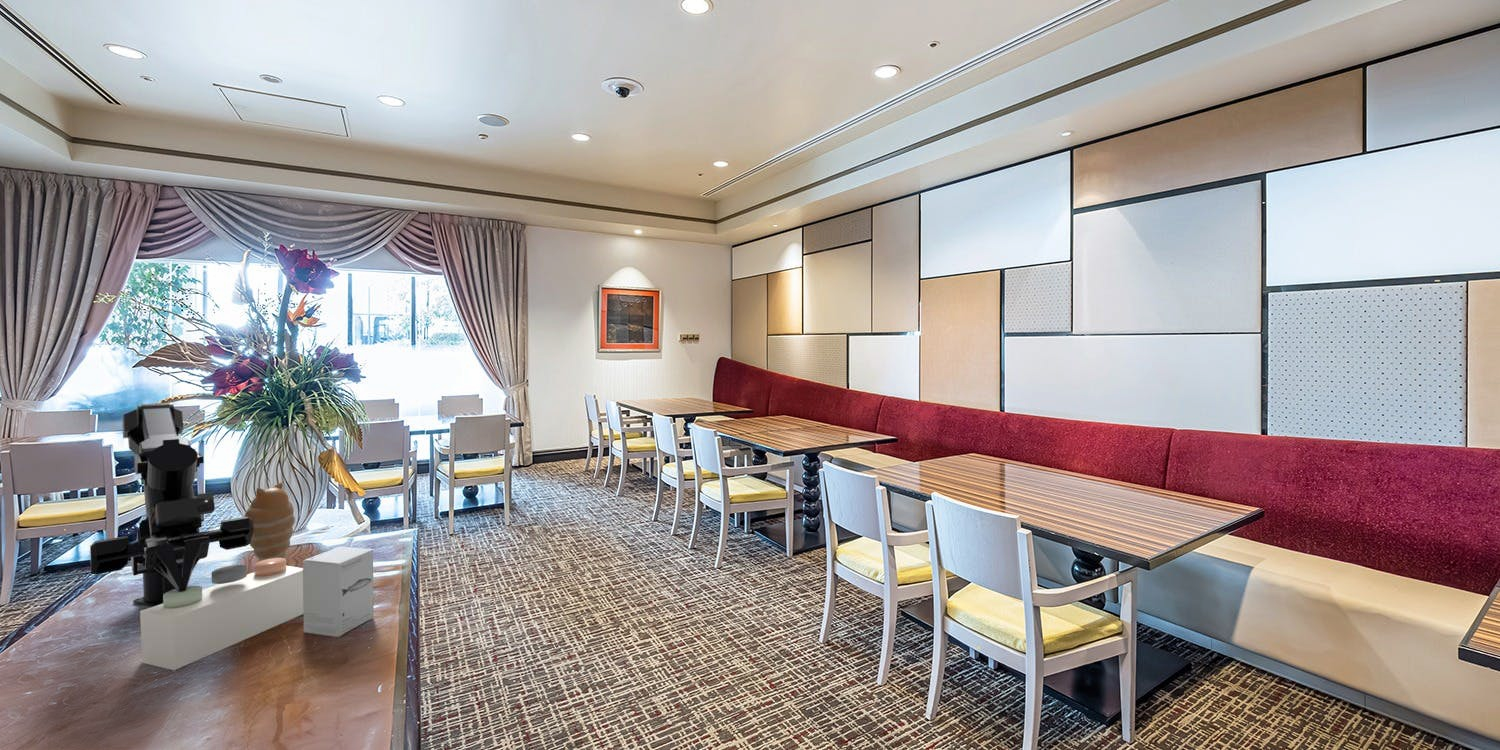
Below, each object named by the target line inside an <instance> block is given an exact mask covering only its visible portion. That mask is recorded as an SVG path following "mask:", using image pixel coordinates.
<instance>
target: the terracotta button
mask: <svg viewBox="0 0 1500 750" xmlns="http://www.w3.org/2000/svg"><path fill="white" fill-rule="evenodd" d="M253 565H254V568H253V570H254V572H255V575H271V574H275V573H279V572H282V571H284V570H285V569H286V566H287V558H286V557H285V558H271V559H266V560H262V561H259V560H258V562H256V563H254V564H253Z"/></svg>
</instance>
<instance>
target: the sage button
mask: <svg viewBox="0 0 1500 750" xmlns="http://www.w3.org/2000/svg"><path fill="white" fill-rule="evenodd" d="M202 590H203V586H201V585H188V586H187V589H186V591H181V592H179V591H178V590H177V589H174V590H171V591H168V592H166V593H165V594H164V595H163V605H164V606H165V607H178V606H184V605H188V604H191V603H194V602H197V601H199V600H200V599H202Z"/></svg>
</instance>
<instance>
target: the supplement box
mask: <svg viewBox="0 0 1500 750" xmlns="http://www.w3.org/2000/svg"><path fill="white" fill-rule="evenodd" d="M302 568H303V613H304V614H303V633H306V634H311V635H319V636H327V637H334V638H339V637H341V636H342V635H345V634H346V633H347V632H349V631H352V630H353V629H355V628H357V627H358V626H360V625H362V624H364V623H366V622H368V621H370V620H372V619H373V618H374V613H375V612H374V605H375V604H374V602H375V601H374V549H372V548H371V549H370V548H361V547H347V546H337V547H335V548H333V549H331V550H327V551H325V552H321V553H319V554H317V555H314V556H311V557H308V558H307V559H303V560H302Z"/></svg>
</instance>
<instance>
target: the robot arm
mask: <svg viewBox="0 0 1500 750" xmlns="http://www.w3.org/2000/svg"><path fill="white" fill-rule="evenodd" d="M183 431H184V418H183V411H182V410H180V409H177V408H175V406H174V403H167V402H163V403H143V404H141V405H137V406H136V409H134V410H131V411H129V412H127V413H124V414H123V415H122V438H123V439H127V441H128V448H129V450H130V451H131V452H133V453H134V455H133V456H134V460H133V461H134V474H135V475H140V477H141V478H140V479H141V480H142V482H143V493H144V505H145V516H146V517H145V519H143V520H141V521H140V523H139V525H138V527H137V529H136V531H137V532H136V533H137V534H136V541H132V542H131V543H130V542H129V536H128V535H124V536H118V537H112V538H105V539H101V540H94V542H93V543H92V544H90V546H89V549H90V551H89V554H90V556H89V558H90V560H89V561H90V573H91V574H92V575H95V576H97V575H102V574H107V573H112V572H118V571H122V570H123V569H124V568H126V566H128V565H129V562H128V561H129V559H128V558H130V561H131V571H132V574H133V577H134V576H138V575H142V585H143V587H142V589H143V590H142V591H143V596H141V597H138V598H135V599H132V600H133V601H132V603H133V604H138V605H142V606H148V607H150V608H151V607H154V606H157V605H160V604H163V595H164V594H165V593H166V592H168V591H171V590H174V589H177V590H178V591H179V592H181V591H186V589H187V586H189V582H190V580H191V576H192V574H193V571H194V569H195V568H196V566H197V564H198V562H199V561H200V560H202V559H206V558H207V557H208V553H209V548H210V544H211V543H216V542H218V543H219V548H221V549H223V550H227V551H228V550H234V549H239V548H245V547H247V546H250V543H251V539H252V534H253V530H254V526H253V521H252V519H250V518H249V517H244V516H243V517H236V518H235V517H234V518H231V519H230V518H229V519H224V520H222V519H221V521H220V526H219V528H217V529H211V530H204V531H200V529H201V528H202V526H203V525H202V524H203V523H202V517H201V516H202V515H207V514H208V515H209V514H213V513H214V511H215V507H216V506H215V505H216V504H215V498H214V493H213V491H212V492H205V493H202V492H201V493H198V494H197V496H196V497H195V494H194V493H195V492H194V485H193V484H194V482H195V478H196V471H197V468H200V466H201V465H200V464H204V463H205V462H204V460H205V459H204V456H203V455H202V454H200V453H199V452H198V450H197V448H193V447H192V446H191V443H190V441H189V439H188V438H185V437H181V436H179V435H181V434H182V433H183ZM129 543H130V544H129Z"/></svg>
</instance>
